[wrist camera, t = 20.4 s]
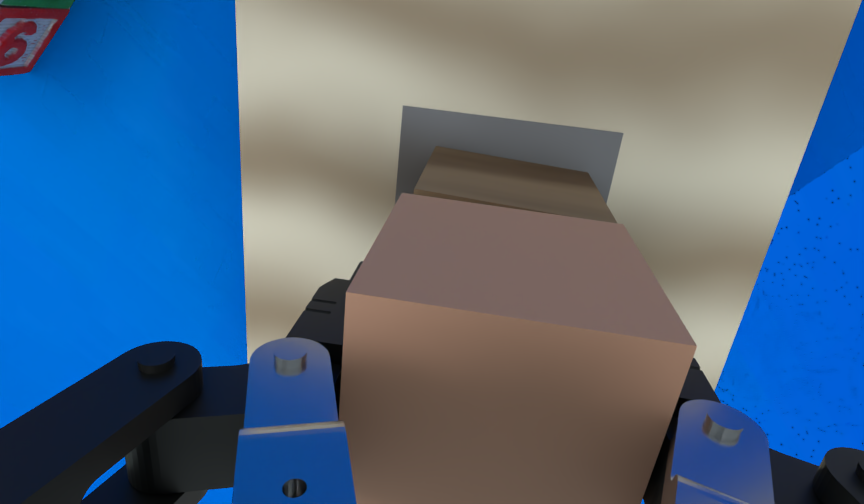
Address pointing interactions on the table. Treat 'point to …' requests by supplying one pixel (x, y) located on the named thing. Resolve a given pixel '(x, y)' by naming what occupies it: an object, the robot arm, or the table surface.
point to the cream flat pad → (530, 128)
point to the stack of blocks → (27, 31)
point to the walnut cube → (511, 184)
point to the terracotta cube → (506, 359)
